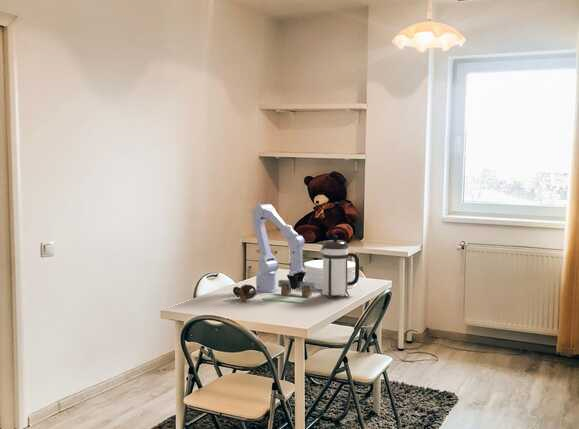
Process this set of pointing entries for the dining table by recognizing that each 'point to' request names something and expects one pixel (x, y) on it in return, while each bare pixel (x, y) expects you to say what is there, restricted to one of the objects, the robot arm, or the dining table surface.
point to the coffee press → (337, 267)
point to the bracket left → (285, 290)
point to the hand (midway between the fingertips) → (296, 287)
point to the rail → (299, 284)
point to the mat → (285, 299)
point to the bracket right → (306, 292)
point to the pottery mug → (244, 292)
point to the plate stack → (316, 273)
